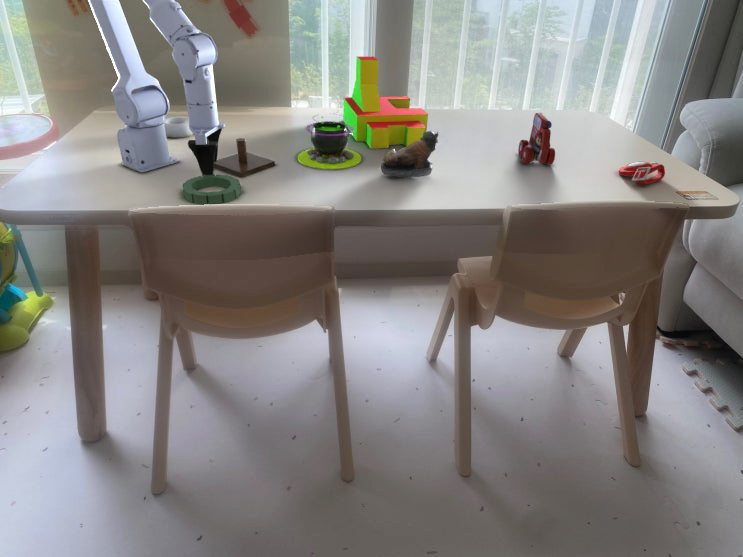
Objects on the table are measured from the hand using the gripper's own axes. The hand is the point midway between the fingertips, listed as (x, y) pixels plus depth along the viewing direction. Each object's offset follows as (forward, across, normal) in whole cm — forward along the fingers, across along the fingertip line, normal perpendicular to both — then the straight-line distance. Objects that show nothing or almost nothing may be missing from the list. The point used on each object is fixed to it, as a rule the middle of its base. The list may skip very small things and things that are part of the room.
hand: (209, 167), depth 111 cm
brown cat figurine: (+2, -1, -42) cm, 42 cm away
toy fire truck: (+2, +7, -76) cm, 77 cm away
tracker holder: (+2, -6, -96) cm, 96 cm away
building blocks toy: (+2, +31, -43) cm, 53 cm away
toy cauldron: (+2, +11, -26) cm, 29 cm away
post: (+2, +7, -6) cm, 10 cm away
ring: (+2, -8, -1) cm, 9 cm away
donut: (+2, +32, +11) cm, 34 cm away
